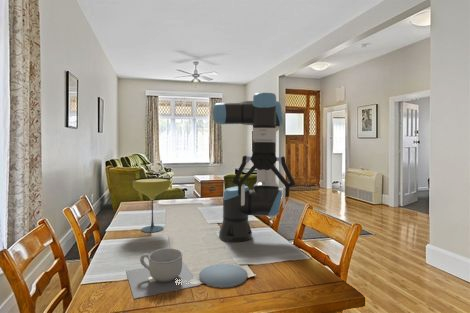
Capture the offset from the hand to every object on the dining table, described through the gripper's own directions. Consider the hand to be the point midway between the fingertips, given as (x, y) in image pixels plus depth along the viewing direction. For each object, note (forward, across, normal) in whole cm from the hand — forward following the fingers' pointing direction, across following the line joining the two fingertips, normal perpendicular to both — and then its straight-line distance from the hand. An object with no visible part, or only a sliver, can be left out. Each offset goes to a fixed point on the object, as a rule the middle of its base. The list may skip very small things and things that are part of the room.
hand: (263, 206), depth 102 cm
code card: (+24, -32, -9) cm, 41 cm away
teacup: (+24, -32, -9) cm, 41 cm away
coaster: (+24, -13, -3) cm, 27 cm away
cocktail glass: (+24, -60, +40) cm, 75 cm away
